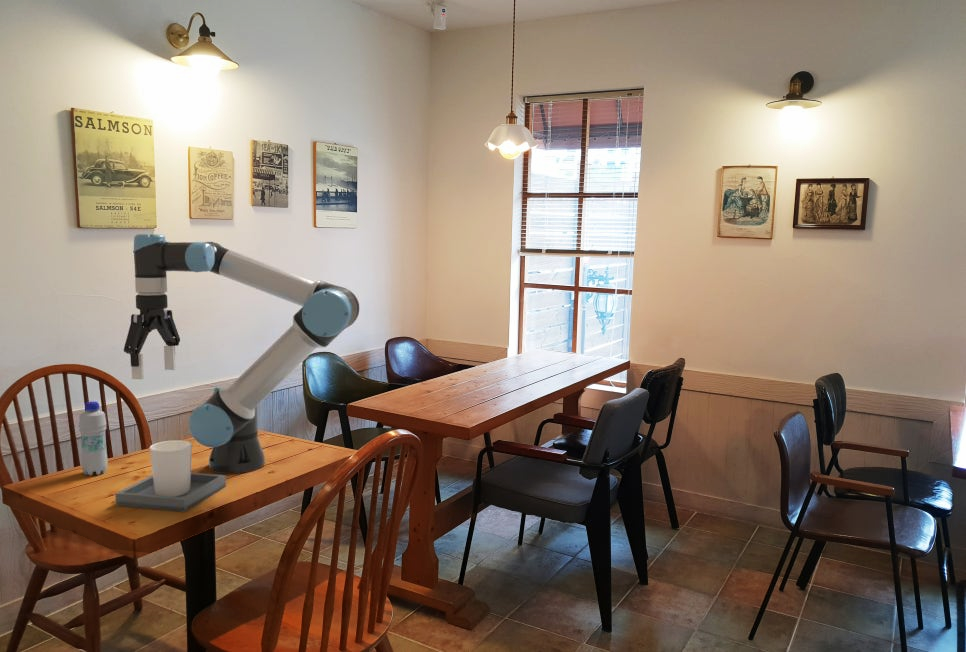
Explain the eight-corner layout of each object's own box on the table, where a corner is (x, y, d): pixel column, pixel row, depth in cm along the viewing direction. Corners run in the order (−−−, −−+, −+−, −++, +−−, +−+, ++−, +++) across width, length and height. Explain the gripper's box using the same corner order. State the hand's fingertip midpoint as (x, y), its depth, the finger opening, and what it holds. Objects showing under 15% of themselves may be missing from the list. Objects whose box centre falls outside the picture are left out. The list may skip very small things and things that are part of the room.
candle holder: (201, 487, 187) (200, 441, 186) (177, 500, 178) (176, 452, 176) (167, 483, 189) (166, 438, 188) (142, 496, 180) (140, 449, 178)
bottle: (113, 469, 204) (110, 399, 201) (101, 477, 197) (98, 404, 195) (88, 469, 203) (85, 398, 201) (76, 476, 197) (72, 404, 194)
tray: (162, 481, 194) (162, 470, 194) (225, 486, 191) (225, 475, 191) (115, 505, 176) (115, 493, 176) (184, 511, 173) (184, 499, 173)
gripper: (167, 290, 203) (170, 365, 205) (105, 296, 178) (109, 382, 181) (192, 291, 201) (194, 366, 204) (132, 297, 177) (136, 383, 179)
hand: (154, 374), depth 192 cm, fingers open, 13 cm apart
